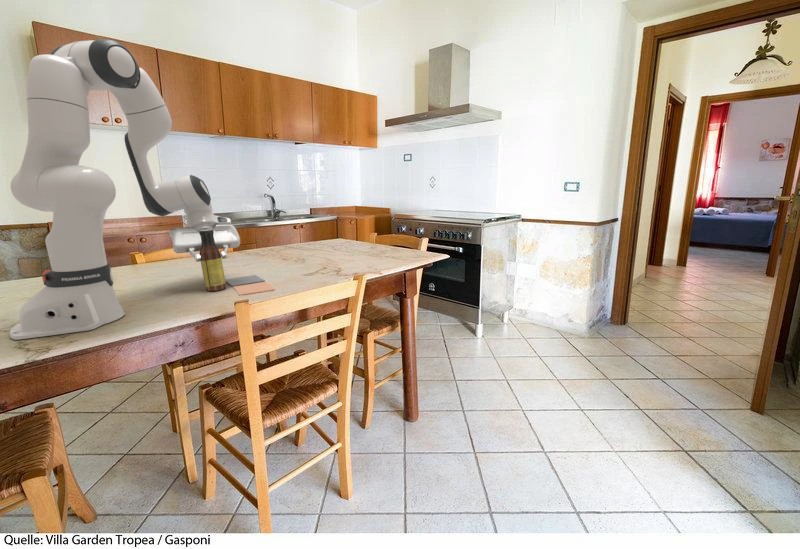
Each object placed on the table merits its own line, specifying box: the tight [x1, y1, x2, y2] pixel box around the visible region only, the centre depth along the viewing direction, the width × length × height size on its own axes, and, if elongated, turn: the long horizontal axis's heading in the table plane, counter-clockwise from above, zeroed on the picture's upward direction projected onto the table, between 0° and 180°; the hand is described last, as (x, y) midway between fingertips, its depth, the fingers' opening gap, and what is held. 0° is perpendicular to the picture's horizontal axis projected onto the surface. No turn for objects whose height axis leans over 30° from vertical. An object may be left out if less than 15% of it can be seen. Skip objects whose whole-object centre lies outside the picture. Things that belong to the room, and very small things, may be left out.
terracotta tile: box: [232, 281, 276, 297], centre depth 129 cm, size 11×11×1 cm
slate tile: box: [225, 274, 266, 288], centre depth 140 cm, size 11×11×1 cm
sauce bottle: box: [199, 229, 227, 292], centre depth 127 cm, size 7×6×20 cm
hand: (211, 259), depth 126 cm, fingers open, 6 cm apart
